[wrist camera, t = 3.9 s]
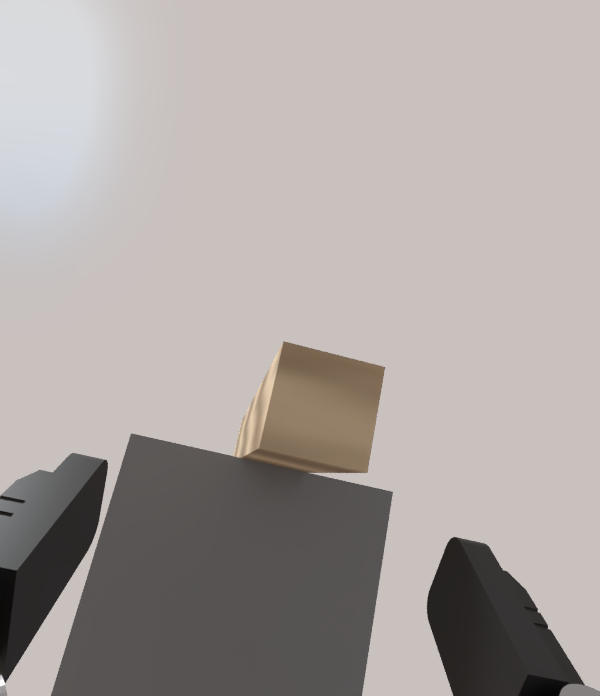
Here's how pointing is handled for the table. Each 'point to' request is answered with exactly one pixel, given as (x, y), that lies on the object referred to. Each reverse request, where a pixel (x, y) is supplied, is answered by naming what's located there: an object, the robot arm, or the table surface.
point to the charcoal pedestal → (227, 581)
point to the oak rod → (313, 413)
